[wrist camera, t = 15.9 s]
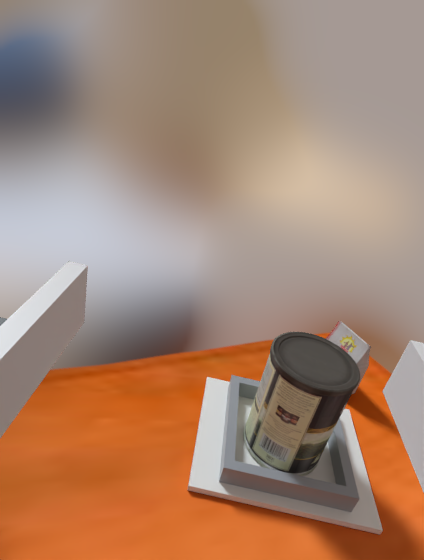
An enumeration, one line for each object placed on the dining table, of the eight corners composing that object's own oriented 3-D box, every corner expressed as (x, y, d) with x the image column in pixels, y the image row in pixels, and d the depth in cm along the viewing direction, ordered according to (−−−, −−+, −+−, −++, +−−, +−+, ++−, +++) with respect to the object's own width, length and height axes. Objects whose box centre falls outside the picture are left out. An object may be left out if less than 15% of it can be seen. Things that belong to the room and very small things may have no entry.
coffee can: (313, 420, 56) (350, 341, 49) (324, 486, 47) (371, 400, 40) (243, 403, 56) (270, 323, 49) (240, 467, 47) (273, 378, 40)
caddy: (187, 490, 44) (192, 471, 42) (206, 380, 60) (210, 364, 58) (380, 534, 44) (392, 517, 42) (347, 413, 60) (355, 397, 58)
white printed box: (327, 366, 69) (348, 319, 65) (354, 393, 64) (378, 345, 60) (311, 369, 68) (331, 321, 63) (338, 397, 62) (361, 348, 58)
